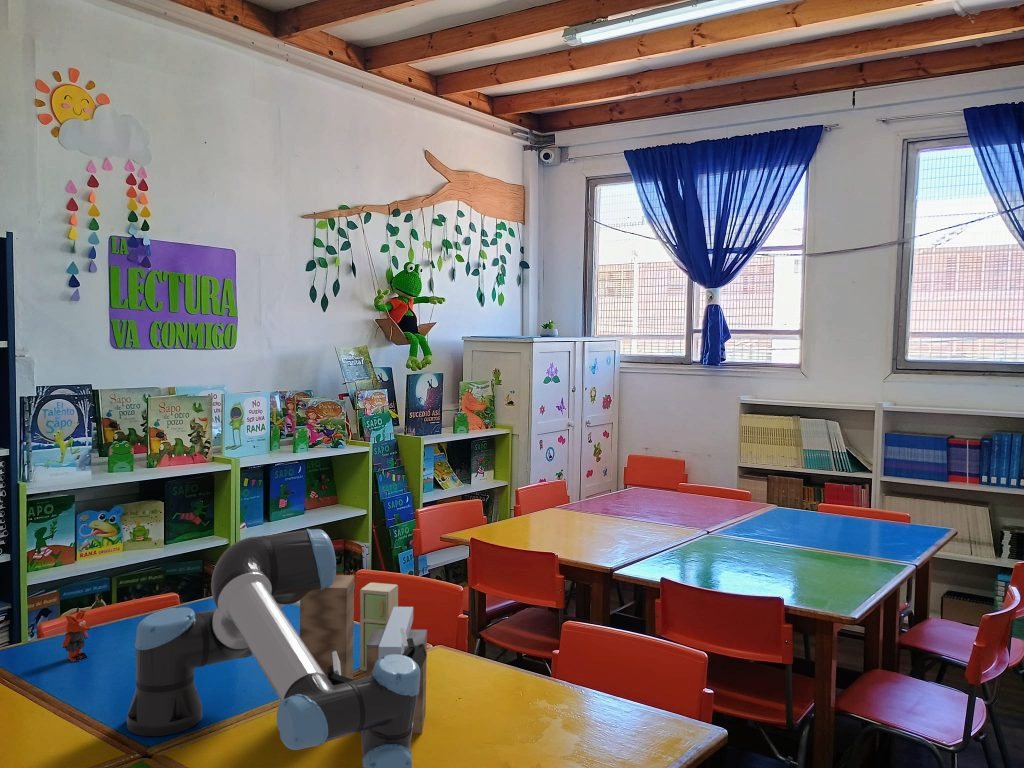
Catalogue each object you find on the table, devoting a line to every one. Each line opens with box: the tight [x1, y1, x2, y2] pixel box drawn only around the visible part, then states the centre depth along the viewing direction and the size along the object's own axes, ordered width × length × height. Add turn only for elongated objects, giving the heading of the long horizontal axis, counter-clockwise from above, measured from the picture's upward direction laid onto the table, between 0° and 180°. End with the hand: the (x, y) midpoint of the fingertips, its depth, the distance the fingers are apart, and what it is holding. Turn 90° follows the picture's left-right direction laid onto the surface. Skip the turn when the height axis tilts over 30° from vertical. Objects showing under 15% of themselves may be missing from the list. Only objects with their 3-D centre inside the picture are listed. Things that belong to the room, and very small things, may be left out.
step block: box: [365, 629, 428, 734], centre depth 182 cm, size 12×10×19 cm
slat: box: [378, 606, 414, 660], centre depth 180 cm, size 4×26×3 cm, turn 1°
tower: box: [299, 574, 355, 680], centre depth 185 cm, size 10×10×30 cm
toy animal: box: [61, 609, 90, 662], centre depth 214 cm, size 8×6×12 cm
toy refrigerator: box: [359, 582, 399, 672], centre depth 213 cm, size 8×7×21 cm
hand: (370, 645), depth 164 cm, fingers open, 13 cm apart
